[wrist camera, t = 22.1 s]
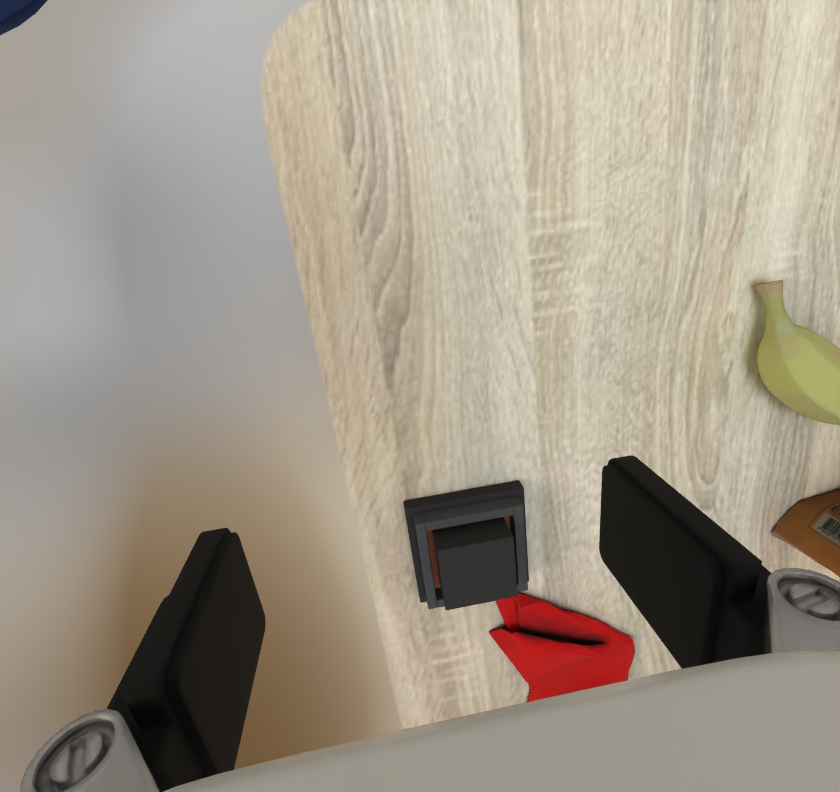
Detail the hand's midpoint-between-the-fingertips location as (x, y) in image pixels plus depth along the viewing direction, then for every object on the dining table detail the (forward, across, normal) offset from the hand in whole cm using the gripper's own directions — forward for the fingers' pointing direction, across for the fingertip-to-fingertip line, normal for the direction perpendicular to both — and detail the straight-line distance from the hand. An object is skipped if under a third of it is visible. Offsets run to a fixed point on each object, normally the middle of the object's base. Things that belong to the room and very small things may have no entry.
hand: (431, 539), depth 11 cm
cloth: (+22, -14, +37) cm, 45 cm away
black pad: (+21, -5, +19) cm, 29 cm away
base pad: (+22, -5, +19) cm, 30 cm away
